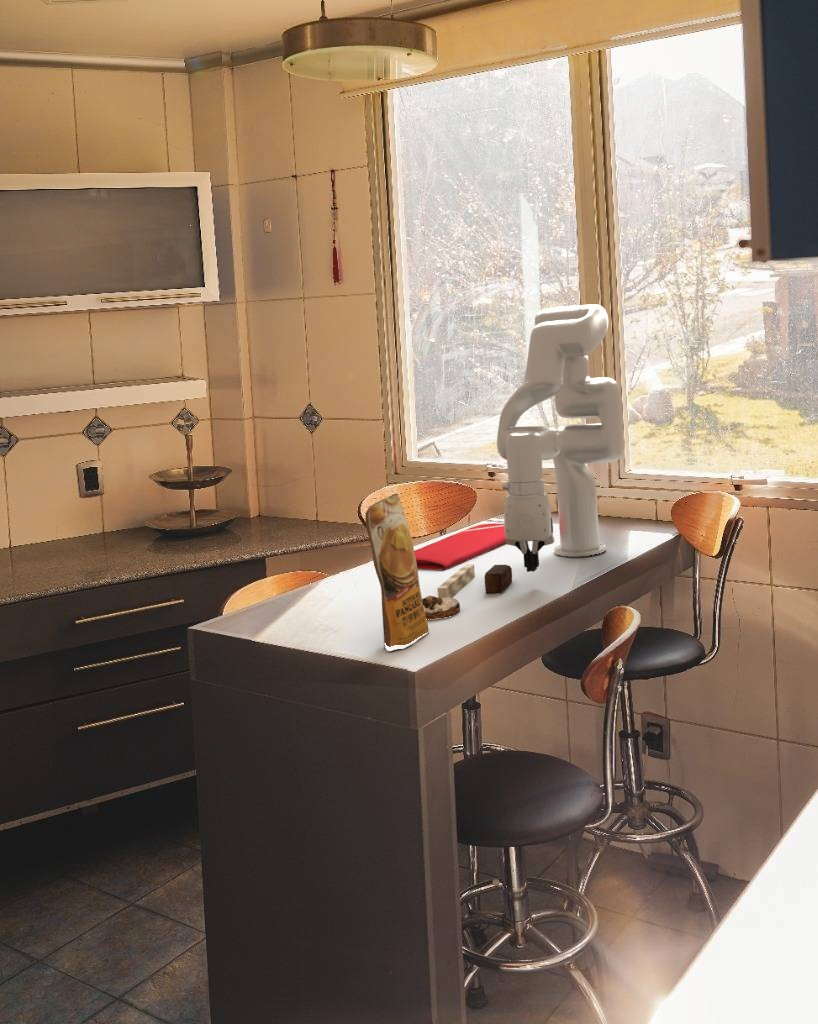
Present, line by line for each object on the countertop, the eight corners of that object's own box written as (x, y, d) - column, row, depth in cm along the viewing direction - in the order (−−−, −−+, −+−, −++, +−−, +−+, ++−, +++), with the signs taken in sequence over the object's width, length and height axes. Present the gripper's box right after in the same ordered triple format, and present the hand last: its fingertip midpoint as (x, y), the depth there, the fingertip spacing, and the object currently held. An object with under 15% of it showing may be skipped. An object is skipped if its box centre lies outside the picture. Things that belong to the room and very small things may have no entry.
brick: (502, 594, 263) (501, 573, 262) (485, 594, 264) (483, 573, 263) (513, 582, 273) (511, 562, 272) (496, 582, 274) (494, 562, 273)
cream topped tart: (405, 605, 261) (404, 587, 261) (473, 605, 257) (471, 586, 256) (386, 624, 247) (384, 605, 247) (457, 624, 243) (455, 604, 243)
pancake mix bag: (365, 654, 226) (351, 508, 221) (408, 626, 243) (396, 489, 238) (398, 656, 223) (384, 508, 219) (438, 627, 240) (427, 489, 235)
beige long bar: (466, 576, 281) (465, 564, 281) (475, 576, 281) (474, 564, 280) (438, 601, 261) (437, 588, 260) (447, 601, 260) (446, 588, 260)
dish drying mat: (392, 569, 299) (391, 554, 298) (477, 535, 332) (476, 521, 331) (446, 572, 290) (444, 557, 289) (527, 537, 323) (526, 523, 322)
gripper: (488, 492, 261) (495, 574, 264) (556, 490, 256) (562, 574, 259) (497, 486, 268) (503, 566, 271) (563, 484, 263) (568, 566, 266)
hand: (532, 570), depth 265 cm, fingers closed
